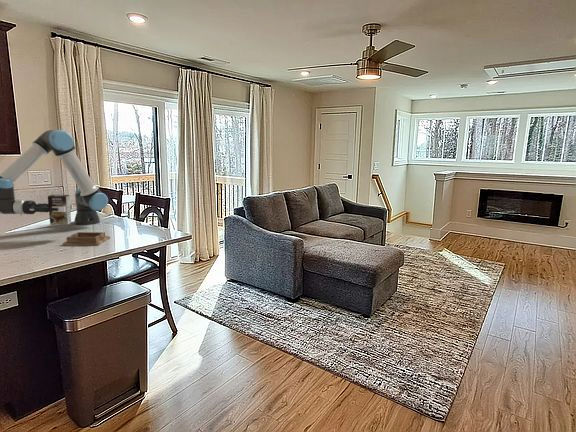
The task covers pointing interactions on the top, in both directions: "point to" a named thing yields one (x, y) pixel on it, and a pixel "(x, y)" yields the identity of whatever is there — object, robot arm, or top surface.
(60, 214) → the coffee box
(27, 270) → the top surface
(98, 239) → the socket bay
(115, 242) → the top surface
